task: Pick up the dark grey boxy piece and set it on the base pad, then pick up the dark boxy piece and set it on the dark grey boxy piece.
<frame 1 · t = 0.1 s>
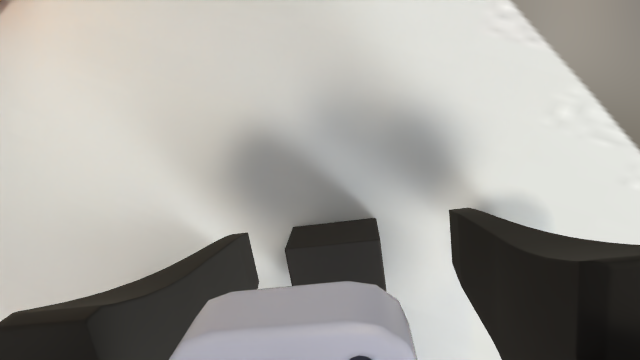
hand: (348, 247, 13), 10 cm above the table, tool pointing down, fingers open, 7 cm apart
dark boxy piece: (338, 253, 24), on the table
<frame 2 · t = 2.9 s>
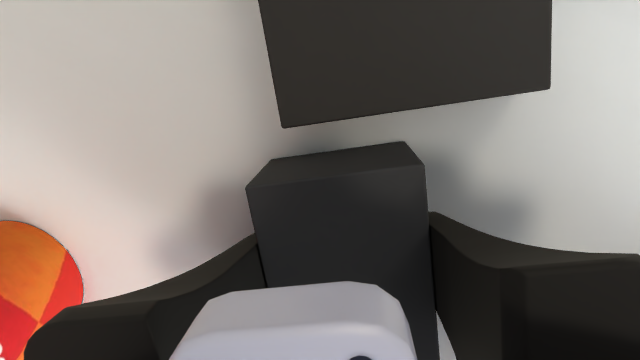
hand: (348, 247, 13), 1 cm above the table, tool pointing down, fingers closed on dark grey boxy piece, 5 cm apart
dark grey boxy piece: (348, 230, 14), on the table, touching gripper
paper cup: (28, 274, 16), on the table
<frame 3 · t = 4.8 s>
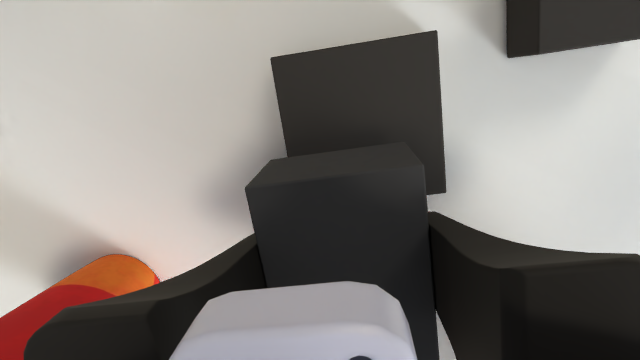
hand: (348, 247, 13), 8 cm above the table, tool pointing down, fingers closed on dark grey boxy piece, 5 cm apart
base pad: (360, 123, 20), on the table
dark boxy piece: (565, 0, 17), on the table
dark grey boxy piece: (347, 231, 14), point 7 cm above the table, touching gripper
paper cup: (126, 288, 24), on the table
when the fingers open (3 cm above the table, at t = 6.9 s): dark grey boxy piece stays where it is, resting on base pad.
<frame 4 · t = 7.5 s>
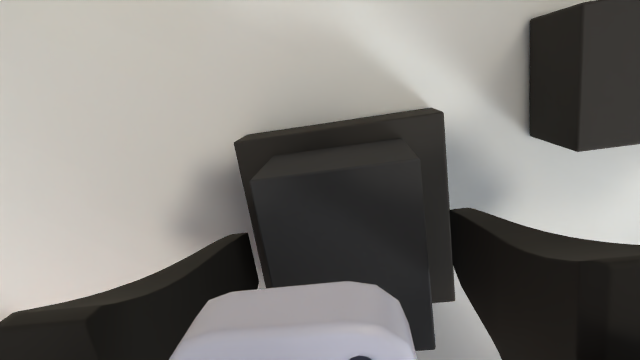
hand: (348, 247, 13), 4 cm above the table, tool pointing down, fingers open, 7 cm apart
base pad: (348, 209, 16), on the table, touching dark grey boxy piece
dark boxy piece: (604, 69, 14), on the table
dark grey boxy piece: (347, 225, 14), point 2 cm above the table, touching base pad
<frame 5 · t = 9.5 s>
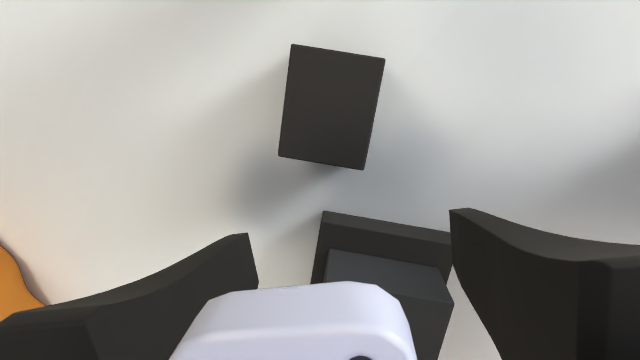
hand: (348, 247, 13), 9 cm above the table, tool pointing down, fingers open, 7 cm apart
base pad: (373, 276, 23), on the table, touching dark grey boxy piece
dark boxy piece: (332, 104, 20), on the table
dark grey boxy piece: (375, 293, 22), point 2 cm above the table, touching base pad
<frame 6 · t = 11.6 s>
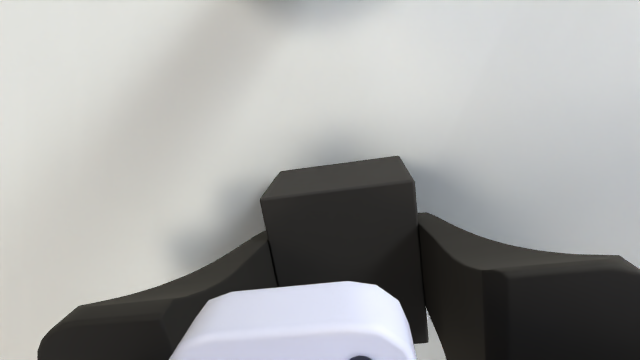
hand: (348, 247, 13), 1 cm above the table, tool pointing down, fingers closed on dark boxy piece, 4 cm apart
dark boxy piece: (348, 230, 14), on the table, touching gripper
when the fingers open (7 cm above the table, at t = 15.2 s): dark boxy piece stays where it is, resting on dark grey boxy piece.
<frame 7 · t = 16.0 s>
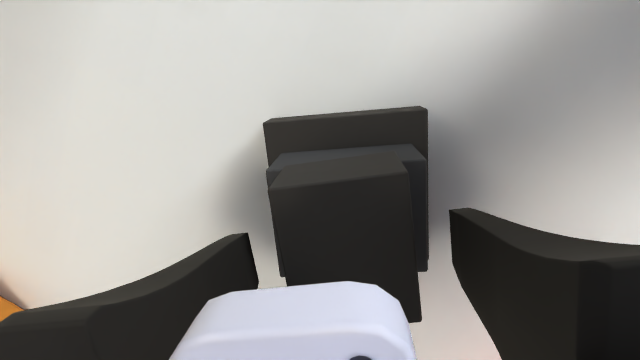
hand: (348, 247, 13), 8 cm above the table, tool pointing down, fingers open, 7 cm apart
base pad: (348, 184, 20), on the table, touching dark grey boxy piece
dark boxy piece: (347, 221, 15), point 5 cm above the table, touching dark grey boxy piece
dark grey boxy piece: (348, 195, 18), point 2 cm above the table, touching base pad, dark boxy piece
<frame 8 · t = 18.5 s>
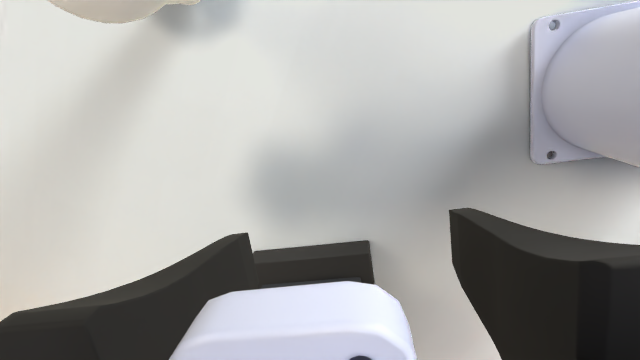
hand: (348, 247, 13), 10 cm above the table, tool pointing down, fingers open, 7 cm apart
base pad: (319, 296, 25), on the table, touching dark grey boxy piece
dark grey boxy piece: (316, 313, 24), point 2 cm above the table, touching base pad, dark boxy piece
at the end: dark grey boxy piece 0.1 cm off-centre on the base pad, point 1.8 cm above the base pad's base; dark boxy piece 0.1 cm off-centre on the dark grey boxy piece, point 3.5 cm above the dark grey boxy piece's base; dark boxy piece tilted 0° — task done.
